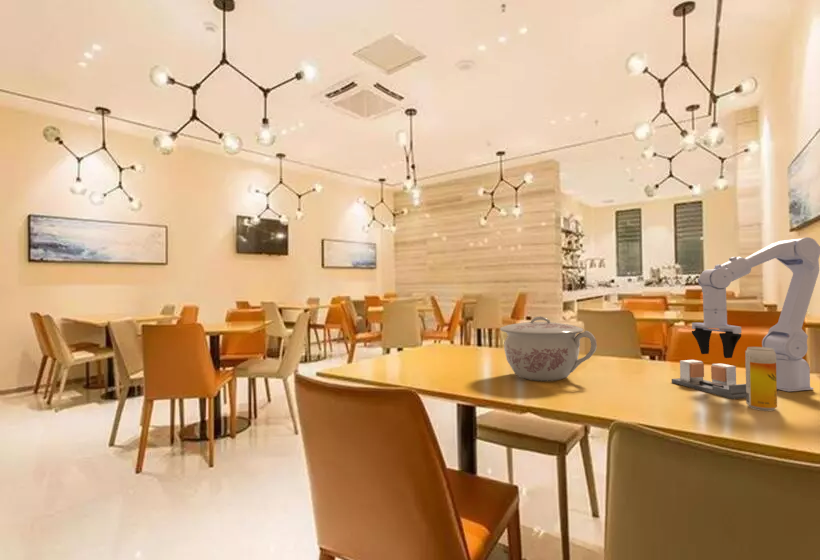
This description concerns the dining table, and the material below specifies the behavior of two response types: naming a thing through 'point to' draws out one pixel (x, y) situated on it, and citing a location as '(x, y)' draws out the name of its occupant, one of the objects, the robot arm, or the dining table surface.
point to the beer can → (761, 378)
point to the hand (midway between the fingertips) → (716, 355)
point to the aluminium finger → (723, 374)
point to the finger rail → (694, 379)
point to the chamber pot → (544, 349)
